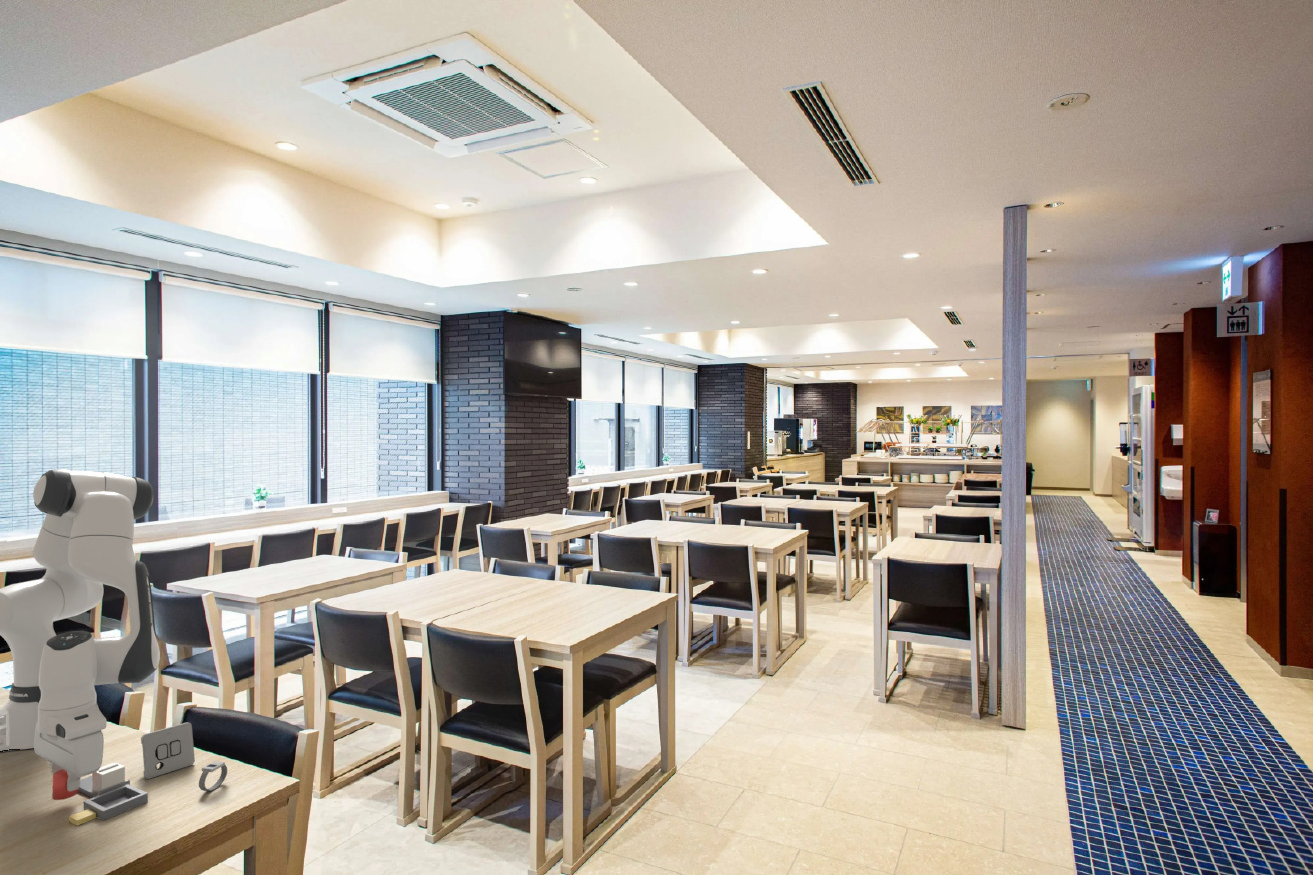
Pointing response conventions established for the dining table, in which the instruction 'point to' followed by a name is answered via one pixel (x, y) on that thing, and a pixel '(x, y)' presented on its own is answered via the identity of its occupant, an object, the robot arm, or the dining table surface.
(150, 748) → the electrical switch
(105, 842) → the dining table surface
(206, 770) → the wristwatch
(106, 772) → the white slotted block
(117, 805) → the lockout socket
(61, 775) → the cap
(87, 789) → the rail
